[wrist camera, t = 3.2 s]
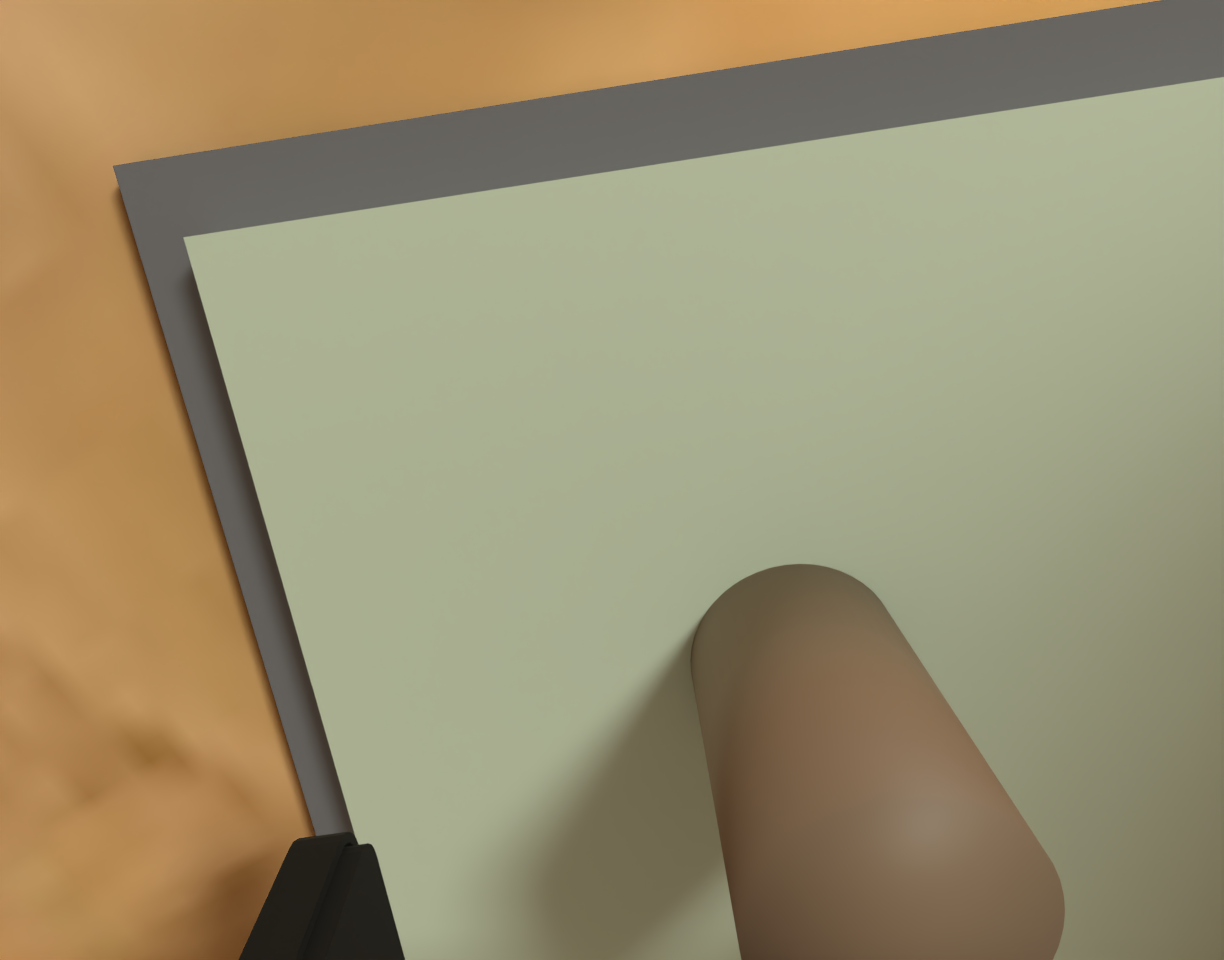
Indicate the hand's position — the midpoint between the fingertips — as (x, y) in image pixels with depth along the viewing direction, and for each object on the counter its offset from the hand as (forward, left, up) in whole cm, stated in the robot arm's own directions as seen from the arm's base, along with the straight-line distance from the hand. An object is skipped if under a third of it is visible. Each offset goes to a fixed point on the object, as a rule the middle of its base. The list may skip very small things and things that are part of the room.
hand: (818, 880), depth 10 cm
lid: (0, +1, -5) cm, 5 cm away
